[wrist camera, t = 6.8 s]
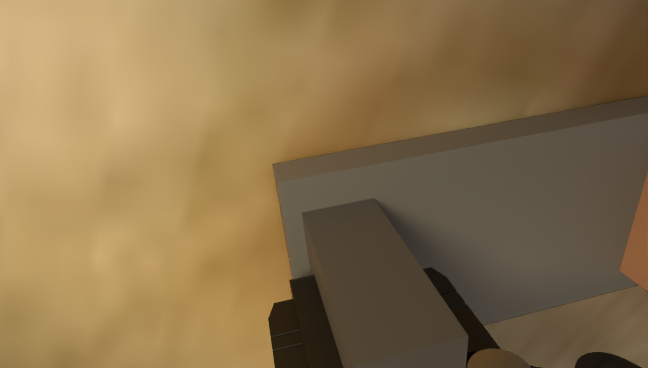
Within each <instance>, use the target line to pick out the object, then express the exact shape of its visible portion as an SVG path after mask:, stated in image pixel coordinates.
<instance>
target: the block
mask: <svg viewBox="0 0 648 368" xmlns="http://www.w3.org/2000/svg"><path fill="white" fill-rule="evenodd" d="M619 271H621V272H622V273H623V274H625V275H626V276H627V277H629V278H630V279H631V280H633V281H634V282H635V283H637V284H638V285H639V286H641V287H642V288H643V289H645V290H646V291H648V172H647V176H646V179H645V183H644V186H643V190H642V193H641V197H640V200H639V204H638V207H637V211H636V214H635V218H634V221H633V225H632V228H631V232H630V235H629V239H628V242H627V246H626V249H625V253H624V256H623V260H622V263H621V267H620V270H619Z"/></svg>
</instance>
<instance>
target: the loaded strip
mask: <svg viewBox="0 0 648 368" xmlns="http://www.w3.org/2000/svg"><path fill="white" fill-rule="evenodd" d="M272 165H273V170H274V176H275V182H276V188H277V193H278V199H279V205H280V211H281V217H282V222H283V228H284V234H285V240H286V245H287V251H288V257H289V263H290V268H291V274H292V279H296V278H300V277H305V276H309V275H314V276H315V279H316V282H317V285H318V288H319V291H320V295H321V298H322V301H323V304H324V307H325V311H326V314H327V317H328V320H329V323H330V327H331V330H332V333H333V336H334V339H335V343H336V346H337V349H338V352H339V355H340V359H341V362H342V365H343V368H466V360H467V348H468V334H467V333H466V332H465V330H464V329H463V327H462V326H461V324H460V323H459V321H458V320H457V318H456V317H455V316H454V314H453V313H452V311H451V310H450V308H449V307H448V305H447V304H446V302H445V301H444V300H443V298H442V297H441V295H440V294H439V292H438V291H437V289H436V288H435V286H434V285H433V284H432V282H431V281H430V279H429V278H428V276H427V275H426V273H425V272H424V270H423V269H425V268H429V267H432V268H433V269H435V270H437V271H438V272H440V273H441V274H443V275H444V276H446V277H447V278H448V280H449V281H450V282H451V284H452V285H453V286H454V288H455V289H456V290H457V293H459V294H460V296H461V297H462V298H463V300H464V301H465V304H467V305H468V306H469V308H470V309H471V310H472V312H473V313H474V314H475V316H476V317H477V318H478V320H479V321H480V322H481V324H482V325H487V324H490V323H494V322H498V321H502V320H506V319H510V318H514V317H518V316H521V315H525V314H529V313H533V312H537V311H541V310H545V309H549V308H553V307H556V306H560V305H564V304H568V303H572V302H576V301H580V300H584V299H587V298H591V297H595V296H599V295H603V294H607V293H611V292H615V291H619V290H622V289H626V288H630V287H634V286H638V284H637V283H635V282H634V281H633V280H631V279H630V278H629V277H627V276H626V275H625V274H623V273H622V272H621V271H619V270H620V267H621V263H622V260H623V256H624V253H625V249H626V246H627V242H628V239H629V235H630V232H631V228H632V225H633V221H634V218H635V214H636V211H637V207H638V204H639V200H640V197H641V193H642V190H643V186H644V183H645V179H646V176H647V172H648V96H644V97H639V98H633V99H628V100H622V101H617V102H611V103H606V104H600V105H595V106H589V107H584V108H578V109H573V110H567V111H562V112H556V113H551V114H545V115H540V116H534V117H529V118H523V119H518V120H512V121H507V122H501V123H496V124H490V125H485V126H479V127H474V128H468V129H463V130H457V131H452V132H446V133H441V134H435V135H430V136H424V137H419V138H413V139H408V140H402V141H397V142H391V143H386V144H380V145H375V146H369V147H364V148H358V149H353V150H347V151H342V152H336V153H331V154H325V155H320V156H314V157H309V158H303V159H298V160H292V161H287V162H281V163H276V164H272Z"/></svg>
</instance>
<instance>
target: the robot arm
mask: <svg viewBox="0 0 648 368" xmlns="http://www.w3.org/2000/svg"><path fill="white" fill-rule="evenodd" d="M423 270H424V272H425V273H426V275H427V276H428V278H429V279H430V281H431V282H432V284H433V285H434V286H435V288H436V289H437V291H438V292H439V294H440V295H441V297H442V298H443V300H444V301H445V302H446V304H447V305H448V307H449V308H450V310H451V311H452V313H453V314H454V316H455V317H456V318H457V320H458V321H459V323H460V324H461V326H462V327H463V329H464V330H465V332H466V333H467V334H468V348H467V360H466V368H540V367H534V366H529V365H528V364H527V363H526V362H525V361H524V360H523V359H522V358H520V357H519V356H517V355H515V354H513V353H511V352H509V351H505V350H502V349H500V347H499V346H498V345H497V344H496V342H495V341H494V340H493V338H492V337H491V336H490V334H489V333H488V332H487V330H486V329H485V328H484V326H483V325H482V324H481V322H480V321H479V320H478V318H477V317H476V316H475V314H474V313H473V312H472V310H471V309H470V308H469V306H468V305H467V304H465V301H464V300H463V298H462V297H461V296H460V294H459V293H457V290H456V289H455V288H454V286H453V285H452V284H451V282H450V281H449V280H448V278H447V277H446V276H444V275H443V274H441V273H440V272H438V271H437V270H435V269H433V268H432V267H429V268H425V269H423ZM289 281H290V287H291V293H292V298H293V299H290V300H286V301H282V302H277V303H274V305H273V308H272V310H271V313H270V316H269V319H268V320H269V328H270V335H271V342H272V349H273V356H274V364H275V368H343V365H342V362H341V359H340V355H339V352H338V349H337V346H336V343H335V339H334V336H333V333H332V330H331V327H330V323H329V320H328V317H327V314H326V311H325V307H324V304H323V301H322V298H321V295H320V291H319V288H318V285H317V282H316V279H315V276H314V275H309V276H305V277H300V278H296V279H292V280H289ZM575 368H642V367H640V366H638V365H636V364H634V363H632V362H630V361H628V360H626V359H624V358H621V357H619V356H616V355H613V354H609V353H603V352H592V353H587V354H585V355H583V356H581V357H580V358H579V359H578V360H577V362H576V365H575Z"/></svg>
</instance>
